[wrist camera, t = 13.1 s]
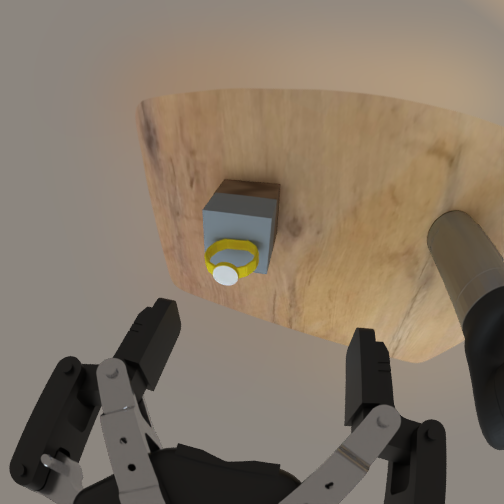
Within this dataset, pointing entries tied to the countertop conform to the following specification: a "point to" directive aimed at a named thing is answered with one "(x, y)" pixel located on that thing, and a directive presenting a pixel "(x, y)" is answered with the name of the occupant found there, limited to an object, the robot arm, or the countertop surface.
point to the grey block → (240, 227)
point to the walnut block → (253, 192)
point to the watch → (227, 271)
